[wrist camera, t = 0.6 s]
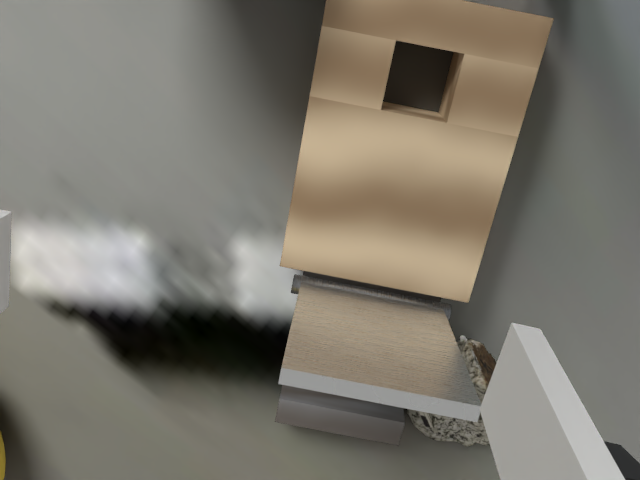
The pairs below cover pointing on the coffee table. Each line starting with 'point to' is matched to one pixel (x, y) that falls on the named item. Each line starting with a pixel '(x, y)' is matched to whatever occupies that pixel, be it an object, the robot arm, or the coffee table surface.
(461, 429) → the rock sample
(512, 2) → the coffee table surface
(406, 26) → the block
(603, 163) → the coffee table surface
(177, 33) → the coffee table surface
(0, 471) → the teapot
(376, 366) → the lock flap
